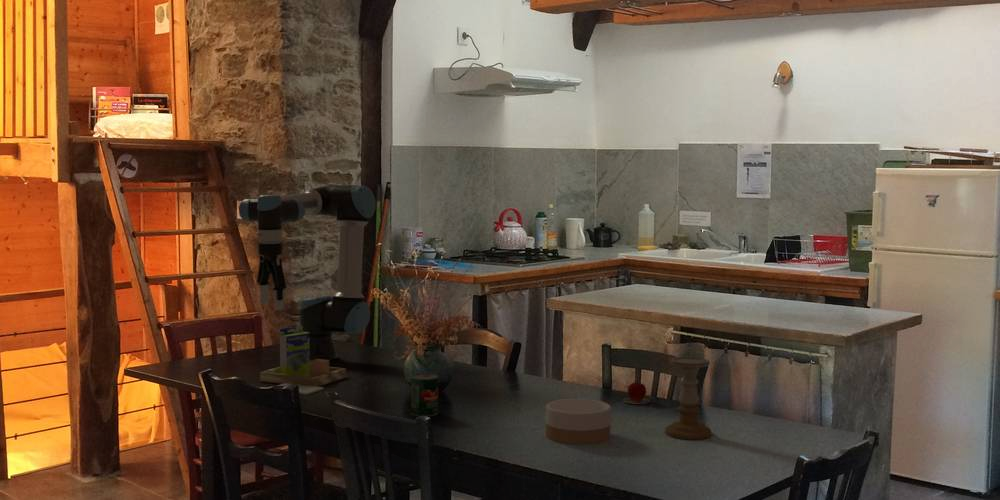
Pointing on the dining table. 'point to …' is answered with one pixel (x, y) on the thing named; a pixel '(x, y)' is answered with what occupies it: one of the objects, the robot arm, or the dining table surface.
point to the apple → (636, 393)
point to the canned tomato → (424, 394)
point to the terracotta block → (319, 367)
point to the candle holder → (688, 401)
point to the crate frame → (302, 377)
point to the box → (294, 352)
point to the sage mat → (306, 389)
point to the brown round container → (578, 421)
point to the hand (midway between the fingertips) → (271, 307)
